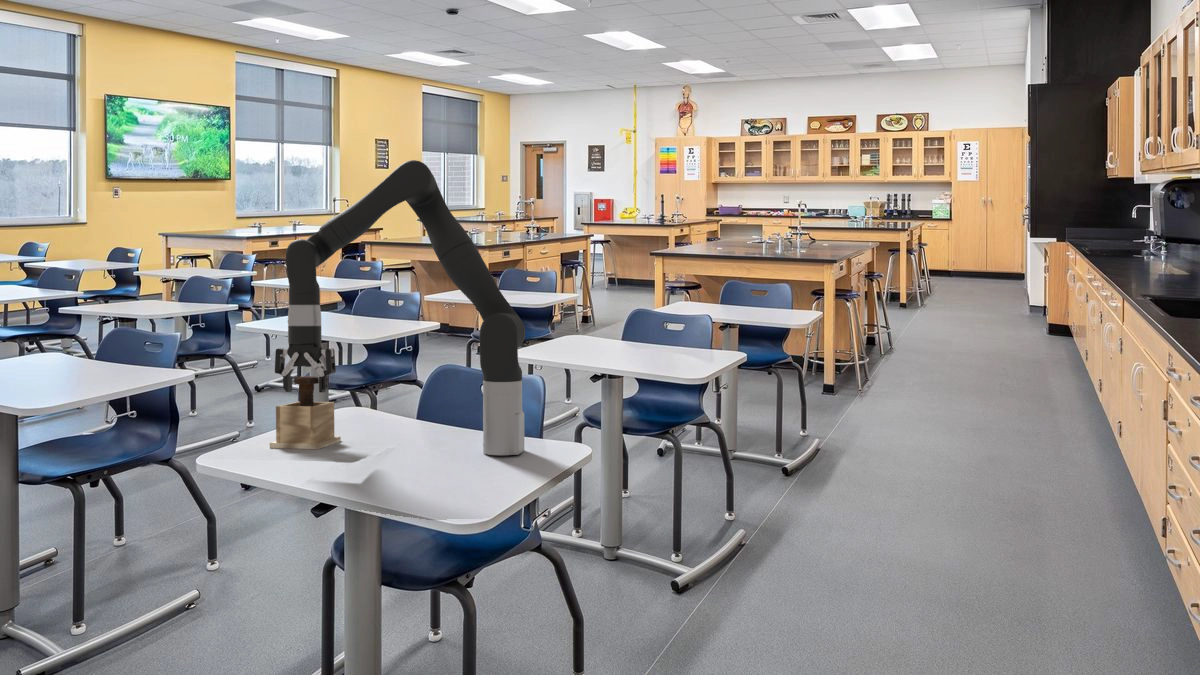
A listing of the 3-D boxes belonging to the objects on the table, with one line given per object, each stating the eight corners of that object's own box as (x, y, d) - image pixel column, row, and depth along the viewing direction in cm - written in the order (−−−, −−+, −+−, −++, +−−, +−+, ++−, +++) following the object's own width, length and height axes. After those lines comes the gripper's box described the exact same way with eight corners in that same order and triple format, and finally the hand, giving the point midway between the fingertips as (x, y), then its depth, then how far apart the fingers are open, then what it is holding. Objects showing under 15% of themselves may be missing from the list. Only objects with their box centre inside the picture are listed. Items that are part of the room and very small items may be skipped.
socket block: (340, 441, 212) (340, 401, 212) (318, 449, 201) (317, 407, 200) (294, 440, 214) (294, 401, 214) (269, 448, 202) (269, 406, 202)
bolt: (304, 441, 204) (304, 378, 203) (290, 440, 206) (289, 377, 206) (323, 438, 209) (323, 376, 208) (309, 437, 211) (308, 375, 211)
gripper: (340, 324, 209) (340, 391, 210) (284, 323, 211) (285, 390, 212) (326, 324, 202) (326, 394, 202) (268, 324, 204) (269, 393, 204)
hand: (305, 392), depth 207 cm, fingers open, 8 cm apart
